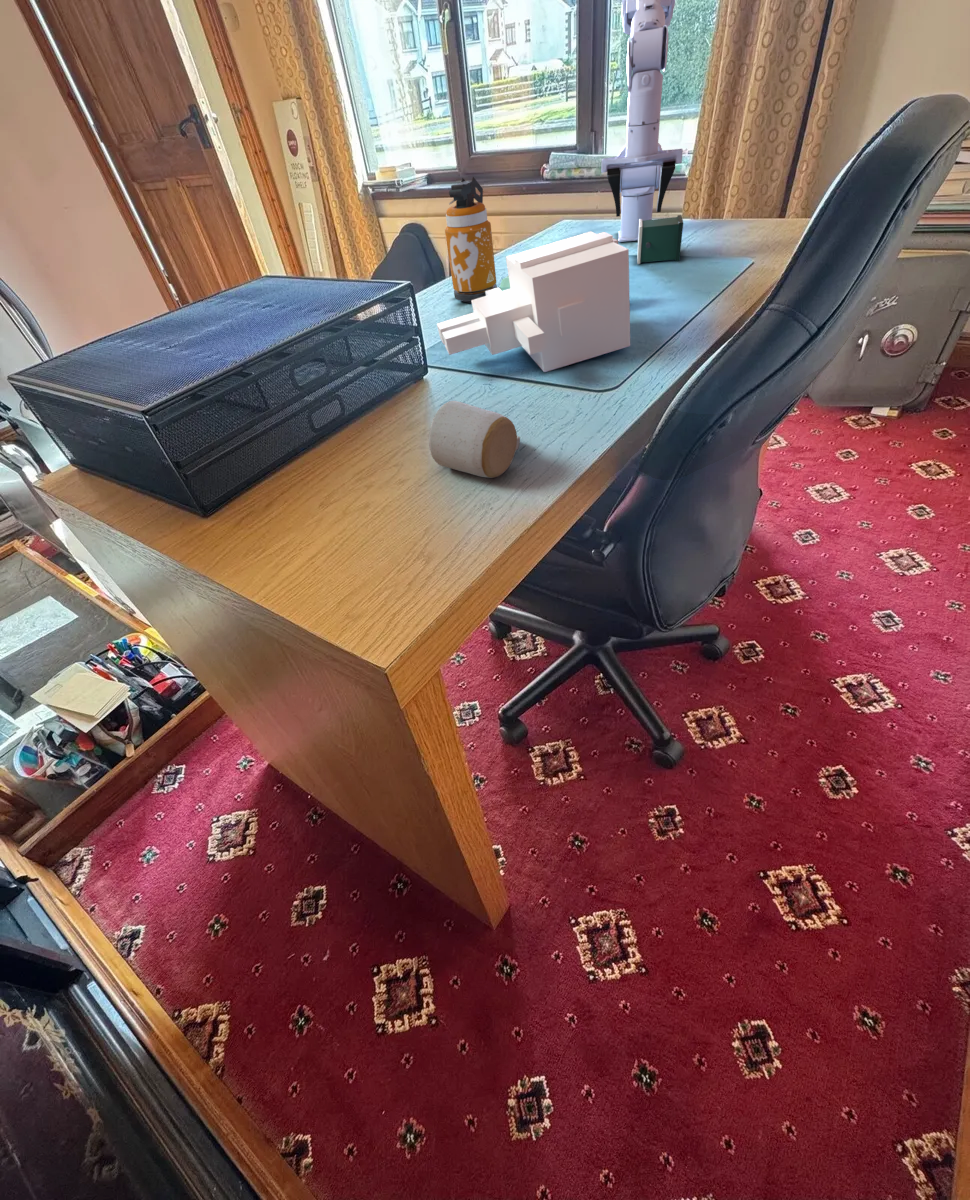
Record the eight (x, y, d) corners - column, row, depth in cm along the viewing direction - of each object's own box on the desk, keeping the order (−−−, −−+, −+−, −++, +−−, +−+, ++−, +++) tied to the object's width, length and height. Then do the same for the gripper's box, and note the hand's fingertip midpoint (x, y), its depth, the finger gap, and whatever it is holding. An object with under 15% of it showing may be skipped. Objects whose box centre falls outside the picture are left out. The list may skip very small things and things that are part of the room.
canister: (448, 304, 116) (430, 186, 102) (469, 287, 123) (454, 175, 110) (488, 304, 113) (474, 182, 99) (507, 287, 120) (497, 171, 106)
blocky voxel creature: (440, 358, 100) (589, 313, 101) (470, 417, 82) (650, 361, 83) (417, 267, 90) (582, 218, 91) (446, 311, 72) (651, 249, 73)
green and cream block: (637, 264, 120) (639, 227, 115) (637, 255, 125) (639, 218, 121) (679, 261, 118) (683, 222, 114) (677, 251, 124) (681, 214, 119)
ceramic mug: (489, 492, 64) (482, 429, 58) (433, 477, 68) (421, 416, 62) (536, 449, 70) (533, 388, 64) (482, 437, 74) (475, 379, 68)
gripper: (601, 131, 100) (599, 221, 109) (687, 120, 97) (678, 213, 106) (602, 127, 105) (601, 213, 114) (684, 116, 102) (676, 205, 111)
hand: (638, 213), depth 111 cm, fingers open, 7 cm apart
